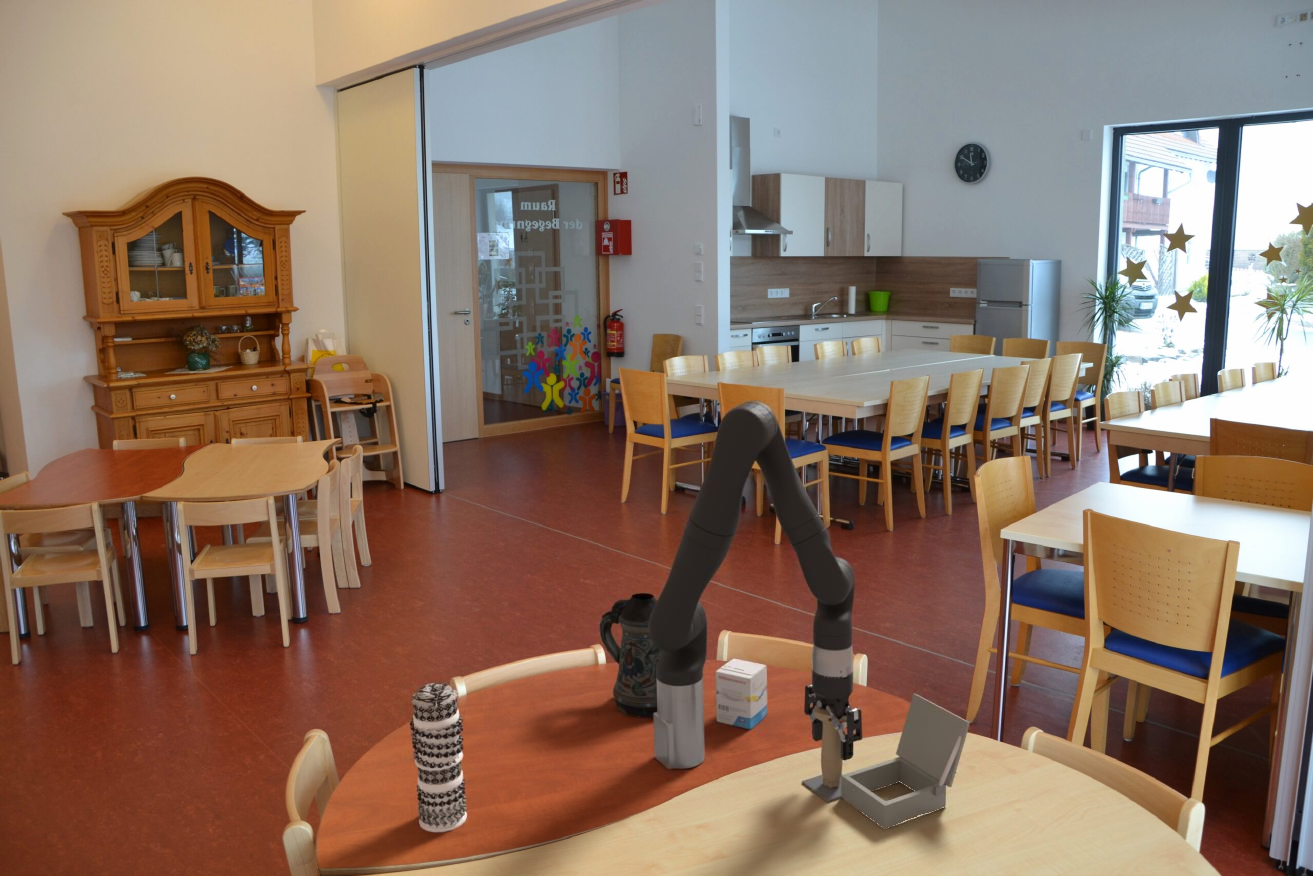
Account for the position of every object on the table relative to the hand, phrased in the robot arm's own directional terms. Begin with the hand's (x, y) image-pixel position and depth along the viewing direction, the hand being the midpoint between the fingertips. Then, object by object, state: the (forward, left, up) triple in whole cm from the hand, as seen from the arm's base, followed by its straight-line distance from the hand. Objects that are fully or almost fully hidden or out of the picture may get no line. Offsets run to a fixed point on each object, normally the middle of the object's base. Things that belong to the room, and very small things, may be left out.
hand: (832, 749), depth 183 cm
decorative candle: (-67, +26, -8) cm, 72 cm away
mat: (0, 0, -8) cm, 8 cm away
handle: (0, 0, -7) cm, 7 cm away
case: (+8, -10, -8) cm, 15 cm away
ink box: (+1, +33, -8) cm, 34 cm away
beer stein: (-14, +51, -8) cm, 53 cm away
